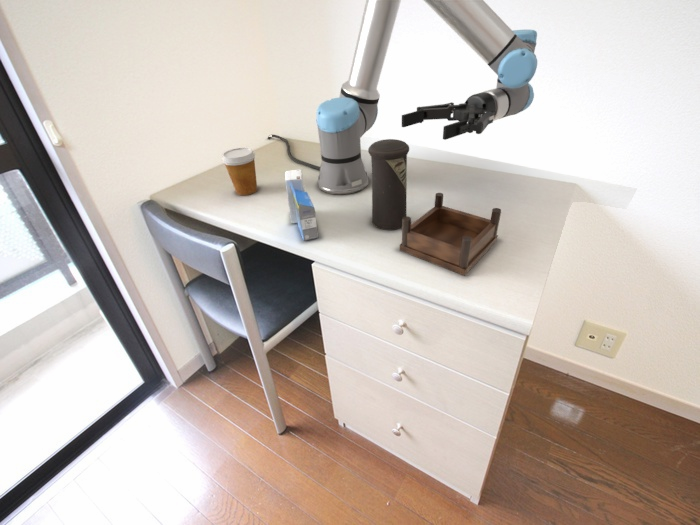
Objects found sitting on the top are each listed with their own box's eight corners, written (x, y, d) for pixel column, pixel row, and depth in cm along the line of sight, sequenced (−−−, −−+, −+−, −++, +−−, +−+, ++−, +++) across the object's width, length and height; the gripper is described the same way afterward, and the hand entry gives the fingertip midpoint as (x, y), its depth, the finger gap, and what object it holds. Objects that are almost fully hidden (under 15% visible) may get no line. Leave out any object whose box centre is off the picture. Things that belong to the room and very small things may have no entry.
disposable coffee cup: (267, 184, 116) (259, 147, 109) (254, 198, 108) (245, 159, 101) (239, 183, 118) (230, 146, 111) (225, 197, 110) (214, 158, 103)
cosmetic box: (291, 213, 99) (283, 170, 92) (307, 211, 100) (301, 168, 93) (291, 224, 94) (283, 180, 87) (308, 222, 95) (302, 178, 88)
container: (405, 232, 88) (408, 149, 76) (368, 230, 90) (365, 149, 78) (408, 214, 95) (410, 136, 83) (373, 213, 97) (371, 136, 85)
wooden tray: (399, 250, 82) (399, 219, 77) (435, 221, 91) (437, 191, 86) (464, 276, 73) (469, 242, 69) (497, 241, 82) (503, 209, 78)
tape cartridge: (319, 238, 88) (312, 191, 81) (303, 241, 87) (295, 194, 80) (311, 221, 95) (305, 176, 88) (297, 224, 94) (289, 179, 87)
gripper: (525, 133, 86) (463, 156, 77) (446, 114, 104) (387, 132, 95) (532, 99, 82) (467, 119, 73) (449, 85, 99) (387, 101, 90)
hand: (422, 126), depth 84 cm, fingers open, 13 cm apart
